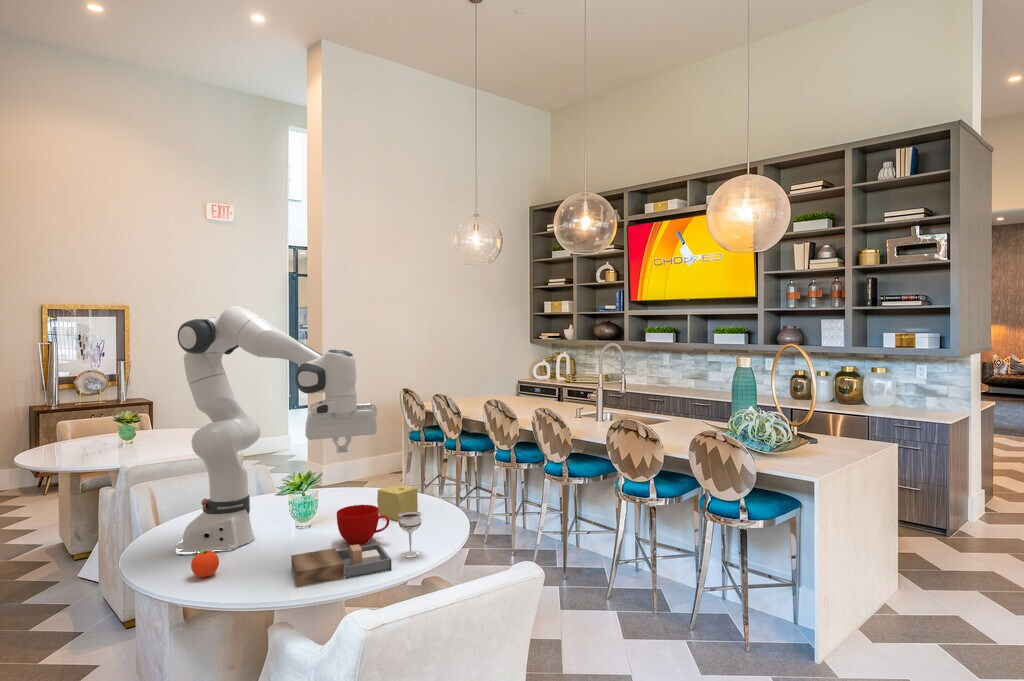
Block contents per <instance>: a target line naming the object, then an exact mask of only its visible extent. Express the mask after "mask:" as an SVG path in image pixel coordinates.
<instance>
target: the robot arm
mask: <svg viewBox="0 0 1024 681" xmlns="http://www.w3.org/2000/svg"><path fill="white" fill-rule="evenodd" d="M177 341H178V344H179V346H180V347H181V349H182V350H183V351H184V352H186V353H185V354H184V355H183V364H184V365H183V366H184V370H185V371H184V372H185V376H186V380H187V383H188V386H189V388H190V393H191V395H192V397H193V398H192V399H193V401H194V403H195V406H196V408H197V409H198V410H199V411H200V412H202V413H204V414H205V415H206V416H207V417H208V418H209V419H210V420H211V423H208V424H206V425H203V426H202V427H200V428H198V429H197V430H196V431H195V432H194V433H193V435H192V438H191V448H192V450H193V452H194V453H195V455H196V456H198V457H199V458H200V459H201V460H202V461H203V463H204V465H205V468H206V471H207V475H208V483H209V486H208V487H209V499H208V498H202V500H201V505H202V513H200V514H199V515H198V516H196V518H194V519H193V520H192V521H191V522H189V523H188V524H187V526H186V527H185V529H184V532H183V535H182V539H183V542H182V543H179V544H178V545H176V544H175V546H176V548H177V549H183V550H181V551H179V552H195V551H196V552H198V551H203V550H204V551H213V550H229V549H234V550H236V549H238V548H239V547H238V546H240V547H242V546H245V545H247V544H249V543H251V542H252V541H254V539H255V538H256V537H255V534H254V532H253V529H252V524H251V523H252V522H251V517H250V511H251V498H250V495H249V487H248V485H249V484H248V482H249V481H248V480H249V478H248V477H249V476H248V471H247V469H246V468H245V467H243V466H242V465H241V463H240V460H239V457H238V456H239V455H238V452H241V451H243V450H247V449H248V448H250V447H251V446H252V445H254V444H255V443H256V442H257V441H259V438H260V436H261V427H260V425H259V423H258V421H257V420H255V419H254V418H252V417H251V416H249V415H248V414H247V413H246V412H245V410H244V409H243V407H242V406H241V405H240V403H239V402H238V400H237V399H236V397H235V395H234V392H233V390H232V387H231V384H230V382H229V378H228V377H227V373H226V371H225V368H224V365H223V361H222V360H223V359H222V358H223V356H224V355H228V356H229V355H231V354H232V353H233V352H234V351H235V350H236V349H238V348H241V349H242V350H244V351H245V352H247V353H248V354H251V355H253V356H256V357H258V358H270V359H280V360H281V359H283V360H287V361H291V362H293V363H295V364H297V365H298V367H297V368H296V371H295V373H294V382H295V385H296V387H297V388H298V390H299V391H300V392H302V393H304V394H308V395H314V394H315V395H316V394H322V393H324V394H325V398H324V399H323V400H321V401H318V402H316V403H313V404H310V405H309V412H310V413H309V414H308V415H307V418H306V422H305V433H304V435H305V437H306V439H308V441H309V440H310V441H313V440H325V439H332V442H333V444H334V445H335V446H336V453H337V454H339V453H340V454H341V453H348V452H349V451H348V450H349V445H350V444H351V441H352V437H359V436H370V435H375V434H376V433H377V432H378V424H377V414H378V409H377V406H376V405H374V404H372V403H371V402H370V403H368V402H367V403H358V402H357V400H358V398H357V394H358V393H357V390H356V383H357V382H356V381H357V367H356V360H355V356H354V355H353V353H351V352H350V351H348V350H342V349H328V350H326V352H325V353H324V354H321V353H320V352H318V351H316V350H315V349H313V348H312V347H309V345H306V344H304V343H303V342H301V341H299V340H297V339H295V338H294V337H292V336H290V335H289V334H288V333H285V332H284V331H282V330H281V329H279V328H278V327H277V326H275V325H274V324H272V323H271V322H269V321H268V320H266V319H265V318H263V317H262V316H260V315H259V314H257V313H255V312H253V311H251V310H249V309H247V308H246V307H243V306H239V305H233V306H229V307H227V308H225V309H224V310H223V311H222V313H220V315H219V316H209V317H206V318H205V317H204V318H195V319H190V320H188V321H186V322H183V323H182V324H181V325H180V326H179V329H178V330H177ZM340 438H345V441H346V442H344V445H339V443H338V442H339V441H340ZM246 543H247V544H246ZM244 544H245V545H244ZM241 545H242V546H241ZM237 547H238V548H237ZM235 548H236V549H235Z"/></svg>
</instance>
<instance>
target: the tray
mask: <svg viewBox="0 0 1024 681" xmlns="http://www.w3.org/2000/svg"><path fill="white" fill-rule="evenodd" d="M360 547H361V549H362V552H364V551H370V550H377V552H378V553H379V555H380V561H374V562H368V563H363V564H357V565H352V566H351V564H350V548H345V549H339V550H338V549H337V550H336V551H337V552H338V554H339V556H340V558H341V560H342V561H343V563H344V578H345V579H350V578H349V577H351V578H356V577H360V576H361V575H362V576H366V575H367V576H368V575H372V574H376V572H378V573H382V572H381V571H383V572H386V571H385V570H388V571H392V570H391V569H392V558H391V557H390V556H389V555H388V553H387V552H386V550H385V549H384V547H382V545H381V544H380V543H375V544H369V545H364V546H363V545H361V546H360ZM371 573H372V574H371ZM355 576H356V577H355Z"/></svg>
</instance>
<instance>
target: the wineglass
mask: <svg viewBox="0 0 1024 681" xmlns="http://www.w3.org/2000/svg"><path fill="white" fill-rule="evenodd" d="M421 515H422V513H421V512H420V511H418V510H417V511H406V512H402V513H400V514H399V517H400V518H399V521H397V522H398V526H399V528H400V529H401V530H402V531H404V532H406V533H407V534H408V541H409V542H408V543H409V551H406V552H404V554H403V553H402V554H403V555H404V556H414V555H417V553H416V552H417V551H415V550H412V536H413V535H412V534H413V533H414V532H415V531H416V530H418V529H419V527H420V526H421V525H422V517H421Z"/></svg>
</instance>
